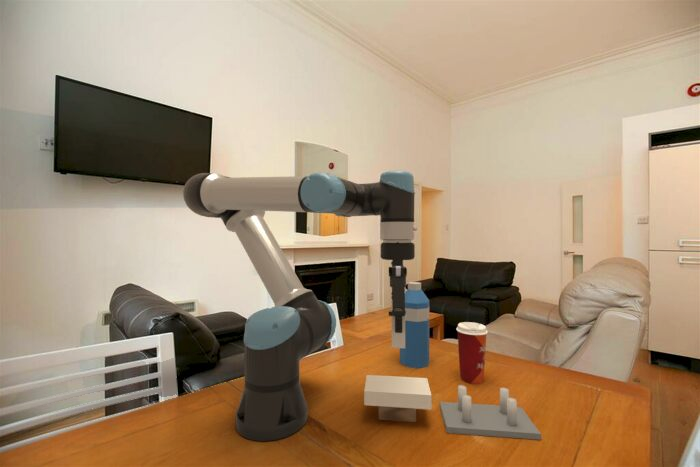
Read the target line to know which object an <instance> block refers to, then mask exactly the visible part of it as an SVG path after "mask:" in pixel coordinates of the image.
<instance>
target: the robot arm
mask: <svg viewBox="0 0 700 467" xmlns="http://www.w3.org/2000/svg"><path fill="white" fill-rule="evenodd" d="M414 181H415V180H414V175H413V174H412V173H411V172H410V171H407V170H390V171H384V172H382V173H381V174H380V178H379V181H377V182H371V183H356V182H353V181H350V180H347V179H345V178H341V177H339V176H336V175H334V174H331V173H329V172H326V173H325V172H314V173H312V174H310V175H302V176H301V175H299V176H295V175H294V176H292V175H291V176H251V177H250V176H248V177H244V176H242V177H230V176H226V175H222V174H220V173H210V172H201V173H197V174H194V175H192V176H191V177H190V178H189V179H188V180H187V181H186V182H185V184H184V186H183V190H182V191H183V192H182V194H183V195H182V196H183V201H184V202H185V205H186V206H187V207H188V209H190V210H191V211H192V212H193V213H194V214H196V215H198V216H200V217H206V218H215V219H220V220H221V221H222V223H223V225H224V226H225V228H226V230H227V231H228V232H233V233H235V234H236V236H237V238H238V240H239V241H240V243H241V245H242V247H243V248H244V250H245V253H246V254H247V256H248V258H249V261H250V262H251V264H252V265H253V267H254V270H255V271H256V272H257V275H258V277H259V278H260V281H261V282H262V283H263V285H264V287H265V289H266V291H267V293H268V295H269V296H270V298H271V300H272V302H273V303H274V306H272V307H271V308H269V307H268V308H263V309H261V310H257V311H255V312H254V313H253V314H251V315H250V316H249V317H247V319H246V321H245V325H244V334H243V348H244V349H243V350H244V352H243V354H244V355H243V357H244V358H243V361H244V364H243V365H244V388H243V391H242V394H241V397H240V399H239V400H240V401H239V404H238V407H237V410H236V412H235V413H236V414H235V428H236V431H237V432H238V434H239V435H240V436H241V437H244V438H246V439H249V440H252V441H256V442H259V441H260V442H265V441H266V442H268V441H269V442H270V441H276V440H280V439H284V438H288V437H290V436H292V435H293V434H295V433H297V432H299V430H301V429H302V428H303V427H304V425H305V424H306V422H307V420H308V403H307V401H306V397H305V395H304V391H303V388H302V384H301V383H300V360H302V359H304V358H306V357H307V356H309V355H310V354H312V353H314V352H315V351H317V350H320V349H322V348H323V347H324V346H325V345H327V343H328V342H330V341H331V339H332V338H333V337H334V336H335V332H336V327H337V318H336V314H335V311H334V310H333V308H332V307H331V305H329V303H328V302H326V301H322V300H319V299H318V298H317V296H316V294H315V293H314V291H313V290H312V289H307V288H305V287H304V286H303V284H302V282H301V281H300V279H299V277H298V276H297V274H296V272H295V270H294V269H293V267H292V265H291V263H290V261H289V260H288V259H287V257H286V255H285V253H284V251H283V250H282V248H281V245H280V244H279V243H278V241H277V240H276V238H275V236H274V234H273V233H272V231H271V229H270V228H269V226H268V224H267V222H266V220H265V219H264V217H265V214H266V212H289V213H290V212H292V213H293V212H295V213H312V214H313V213H314V214H334V215H335V216H337V217H344V218H352V217H365V216H366V217H367V216H368V217H369V216H377V217H378V216H380V219H379V220H380V222H379V226H380V228H379V229H380V230H379V234H380V235H379V237H380V238H379V239H380V240H381V241H382V242H380V259H382V260H385V261H391V262H390V264H391V266H388V277H389V286H390V288H391V294H390V295H391V311H388V316H389V317H391V348H392V349H400V348H405V314H406V311H405V293H406V291H405V289H406V287H407V286H406V285H407V277H408V276H407V275H408V269H407V267H406V266H404V261H411V260H414V259H415V256H416V255H415V254H416V253H415V251H416V250H415V248H416V247H415V245H416V244H414V242H412V241H414V240H415V231H418V227H417V226H415V195H416V192H415V182H414Z"/></svg>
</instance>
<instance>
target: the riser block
mask: <svg viewBox="0 0 700 467" xmlns="http://www.w3.org/2000/svg"><path fill="white" fill-rule="evenodd" d="M378 420H381V421H397V422H407V423H408V422H409V423H416V422H417V409H415V408H400V407H385V406H378Z"/></svg>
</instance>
